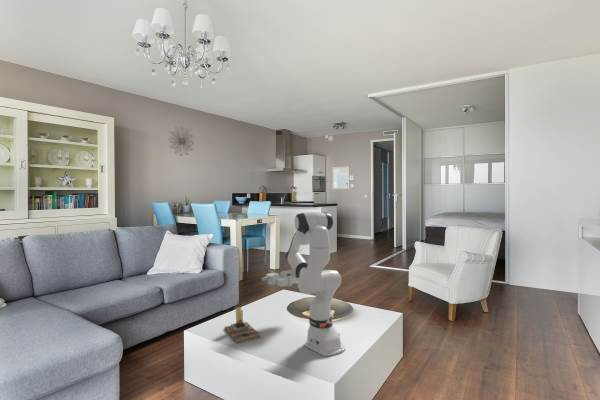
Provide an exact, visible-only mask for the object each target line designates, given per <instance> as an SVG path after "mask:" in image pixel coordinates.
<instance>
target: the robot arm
mask: <svg viewBox="0 0 600 400" xmlns="http://www.w3.org/2000/svg"><path fill="white" fill-rule="evenodd" d="M333 225H334V219H333V215H332V214H330V213H329V212H319V211H317V212H315V211H311V212H310V211H309V212H308V211H307V212H300V213H297V214H296V215H295V217H294V227H295V230H296V232H295V233H294V234H293V237H292V239H291V241H290V245H289V249H288V251H287V253H286V255H285V261H286V262H287V263H288V264H289V265H290V267H291V269H288V270H281V272H280V273H278V272H271V273H266V274H265V276H264V277H261V281H262V282H265V281H267V284H268V285H269V286H270V285H276V286H278V287H292V286H293V284H297V288H298V290H299V292H301V294H305V295H313V294H316V295H315V297H313V299H311V300H310V304H309V318H308V321H309V322H308V323H309V327H308V329H307V336H306V342H305V345H304V346H305V347H306V348H308V349H310V350H311V351H314V352H316V353H317V354H319V355H321V356H324V357H331V356H336V355H338V354H342V353H343V352H344V351H346V347H345V345H344V344H343V343H342V342H341V337H340V334H341V333H340V332H337V330H336V328H335V327H334V321H333V320H332V316H331V304H332V299H333V296H334V295H335V293H336V291H337V290H338V288H339V287H340V286H341V284H342V276H341V274H340V273H339V272H338V270H335V269H334V270H333V269H325V270H324V268H325V267H326V266H327V264H329V263H330V260H331V242H330V241H331V239H330V234H329V231H330V230H331V229H332V228H333ZM308 245H309V247H308V248H309V255H308V256H309V257H308V258H309V259H308V262H307V260H306V259H305V258H304V257H303V256H302V254H301V252H300V247H301V246H308Z"/></svg>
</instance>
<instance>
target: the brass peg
mask: <svg viewBox="0 0 600 400" xmlns="http://www.w3.org/2000/svg"><path fill="white" fill-rule="evenodd" d="M243 308H244V307H241V306H240V307H236V308H235V323H236V328H239V327H243V322H244V312H243V311H244V309H243Z"/></svg>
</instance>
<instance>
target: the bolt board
mask: <svg viewBox="0 0 600 400" xmlns="http://www.w3.org/2000/svg"><path fill="white" fill-rule="evenodd" d="M224 330H225V331H226V333H227V334H228V335H229V337H231V339H232V340H233V341H234V342H235V343H236V344H241V343H244V342H245V343H246V342H248V341H252V340H256V339H260V338H261V334H260V333H259V332H258V331H257V330H256V329H255V328H254V327H253V326H252V325H250V324H249V323H248V322H247V321H243V327H239V328H236V322H235V323H231V324H230V325H227V326H226V325H225V326H224Z"/></svg>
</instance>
